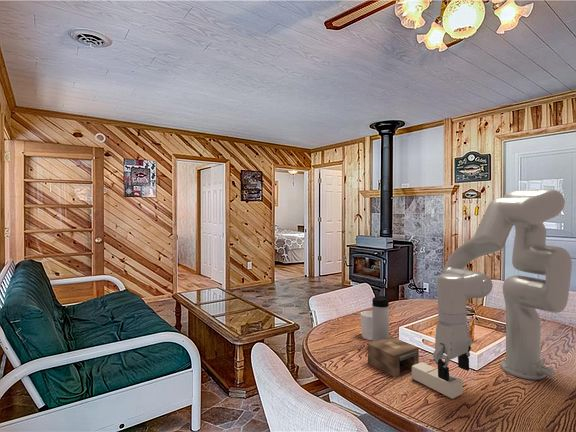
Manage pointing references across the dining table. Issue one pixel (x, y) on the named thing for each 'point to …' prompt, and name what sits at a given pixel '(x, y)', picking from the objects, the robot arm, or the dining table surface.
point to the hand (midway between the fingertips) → (453, 373)
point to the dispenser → (392, 355)
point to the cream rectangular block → (437, 380)
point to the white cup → (366, 324)
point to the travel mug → (380, 318)
